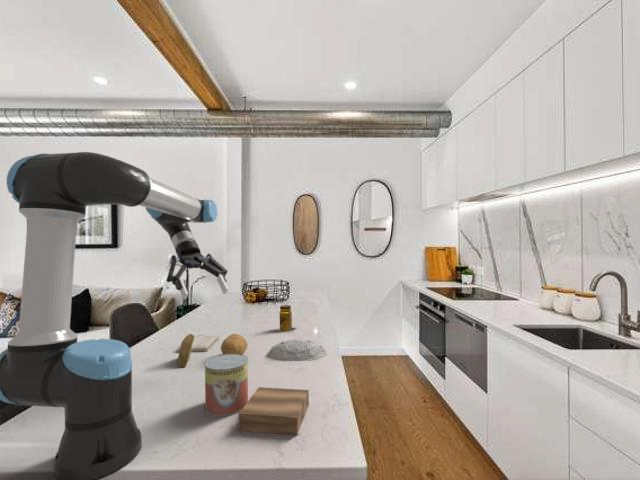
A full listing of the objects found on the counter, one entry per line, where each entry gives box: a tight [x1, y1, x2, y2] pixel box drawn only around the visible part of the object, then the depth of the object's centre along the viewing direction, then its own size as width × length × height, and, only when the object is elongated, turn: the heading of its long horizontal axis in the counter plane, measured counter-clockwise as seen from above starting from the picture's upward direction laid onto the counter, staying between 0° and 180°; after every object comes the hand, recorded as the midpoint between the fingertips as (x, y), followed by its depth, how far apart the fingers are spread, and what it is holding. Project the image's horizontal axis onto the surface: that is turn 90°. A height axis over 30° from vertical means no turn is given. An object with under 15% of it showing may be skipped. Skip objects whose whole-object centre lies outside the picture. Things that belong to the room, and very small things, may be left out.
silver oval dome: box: [266, 338, 328, 362], centre depth 131 cm, size 16×25×7 cm, turn 92°
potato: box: [220, 333, 248, 356], centre depth 127 cm, size 10×14×8 cm
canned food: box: [204, 354, 249, 417], centre depth 91 cm, size 11×11×12 cm
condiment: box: [277, 304, 297, 333], centre depth 166 cm, size 7×8×12 cm
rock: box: [176, 333, 195, 368], centre depth 123 cm, size 11×9×10 cm
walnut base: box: [238, 386, 310, 436], centre depth 84 cm, size 14×14×4 cm
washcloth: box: [178, 334, 220, 353], centre depth 143 cm, size 12×18×3 cm, turn 2°
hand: (206, 294), depth 107 cm, fingers open, 13 cm apart
